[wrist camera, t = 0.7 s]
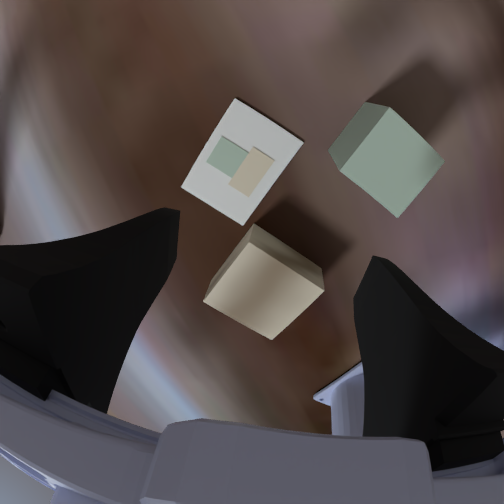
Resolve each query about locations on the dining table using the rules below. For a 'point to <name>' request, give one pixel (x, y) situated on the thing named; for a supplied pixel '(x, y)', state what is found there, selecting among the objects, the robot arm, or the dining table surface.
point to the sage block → (385, 156)
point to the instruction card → (240, 162)
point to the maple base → (264, 283)
